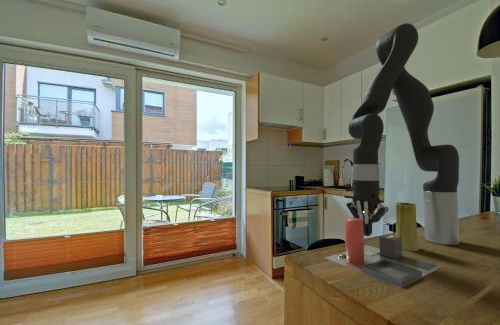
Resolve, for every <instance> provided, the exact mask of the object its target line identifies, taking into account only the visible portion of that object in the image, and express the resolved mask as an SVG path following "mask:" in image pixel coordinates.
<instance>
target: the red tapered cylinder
mask: <svg viewBox="0 0 500 325" xmlns="http://www.w3.org/2000/svg"><path fill="white" fill-rule="evenodd" d="M344 232H345V233H344V239H345V243H344V244H345V246H344V247H345V252H346V261H347V262H349V263H352V264H363V263H364V246H365V237H364V236H365V235H364V225H363V220H362V219H359V218H354V217H345V218H344Z"/></svg>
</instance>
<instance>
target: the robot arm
mask: <svg viewBox="0 0 500 325" xmlns="http://www.w3.org/2000/svg"><path fill="white" fill-rule="evenodd" d="M418 43H419V32H418V29H417V28H416V27H415V25H413V24H412V23H407V22H406V23H402V24H400V25H398V26H396V27H394V28H392V29H391V30H390V31H388V32H386V33H385V34H383V35H382V36H381V37H380V38H378V39H377V41H376V43H375V51H376V56H377V58H378V61H379V62H380V65H381V68H380V69H378V72H377V73H376V74H375V76H374V77H373V79H371V81H370V83H369V85H368V87H367V89H366V91H365V94H364V97H363V99H362V101H361V104H359V107H357V109H356V111H355V112H354V114H353V115H352V117H351V119H350V120H349V122H348V134H349V136H351V138H353V139H355V140H360V143H359V145H357V146H355V147H353V148H354V149H353V151H352V157H353V158H352V160H353V161H352V163H353V164H352V193H353V197H352V200H351V201H350V202H347V203H346V204H345V205H346V207H347V209H348V210H349V211H350V213H351V214H352V218H359V219H362V220H363V225H364V236H365V237H370V236H371V235H372V234H373V224H375V223H379V221H380V220H381V219H382V218H383V217H384V215H385V214H386V213H388V211H389V207H387V206H385V205H383V204H382V203H381V202H382V201H381V199H380V192H381V191H380V187H381V186H380V168H379V149H380V146H381V142H382V139H383V134H384V129H385V128H384V122H383V120H382V117H381V116H380V115H379V114H381V113H382V112H384V110H385V109H386V106H387V104H388V101H389V100H390V99H389V98H390V97H391V93H392V90H393V93H394V95H395V98H396V101H397V105H398V107H399V110H400V112H401V116H402V117H403V120H404V122H405V126H406V128H407V131H408V135H409V138H410V142H411V146H412V150H413V154H414V159H415V162H416V164H417V167H418V168H419V169H420V170H422V171H424V172H435V173H436V172H437V174H436V177H435V178H433V179H431V180H428V181H426V182H424V183H423V185H422V192H423V193H422V195H423V198H422V199H423V220H424V221H423V222H424V223H423V224H424V239H425V240H426V241H427V242H430V243H434V244H438V245H439V244H440V245H445V246H446V245H448V246H449V245H451V246H456V245H459V244H460V230H459V229H460V228H459V225H460V224H459V207H458V206H459V204H458V185H459V181H460V177H459V176H460V173H459V172H460V156H459V151H458V149H457V148H456V146H454V145H453V144H437V145H432V144H431V142H430V139H429V133H428V132H429V127H430V124H431V121H432V118H433V115H434V110H435V106H434V101H433V99H432V96H431V93H430V91H429V88H428V87H427V86H426V85H425V84H424V83H423V82H422V81H420V80H419V79H417V78H416V77H415V76H413V75H412V74H410V72H408V70H407V69H406V68H405V66H406V64H407V62H408V61H409V59H410V57H411V56H412V54H413V52H414V51H415V49H416V48H417V45H418ZM375 211H376V212H375Z"/></svg>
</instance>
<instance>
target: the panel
mask: <svg viewBox="0 0 500 325" xmlns="http://www.w3.org/2000/svg"><path fill="white" fill-rule="evenodd" d="M324 259H327V260H329V261H332V262H334V263H336V264H339V265H342V266H344V267H347V268H350V269H351V270H354V271H356V272H360V273H362V274H364V275H367V276H369V277H371V278H375V279H378V280H379V281H382V282H384V283H387V284H389V285H392V286H395V287H397V288H399V289H401V288H403V287H406V286H408V285H410V284H411V283H414V282H415V281H418V280H420V279H422V278H423V277H425V276H427V275H429V274H431V273H433V272H435V271H437V270H439V269H442V268H443V266H442V265H438V264H435V263H432V262H429V261H424V260H421V259H417V258H413V257H410V256H407V255H403V254H402V256H401V257H398V258H395V259H393V258H390V257H387V256H383V255H380V247H379V248H378V247H375V246H372V245H368V244H367V245H364V263H363V264H352V263H349V262H347V261H346V251H343V252H339V253H335V254H333V255H329V256H325V257H324Z"/></svg>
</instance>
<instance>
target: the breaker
mask: <svg viewBox="0 0 500 325" xmlns="http://www.w3.org/2000/svg"><path fill="white" fill-rule="evenodd" d="M378 239H379V249H380V255H383V256H387V257H390V258H393V259H395V258H398V257H401V256H402V255H403V250H402V238H399V237H396V235H390V234H385V235H382V236H379V238H378Z"/></svg>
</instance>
